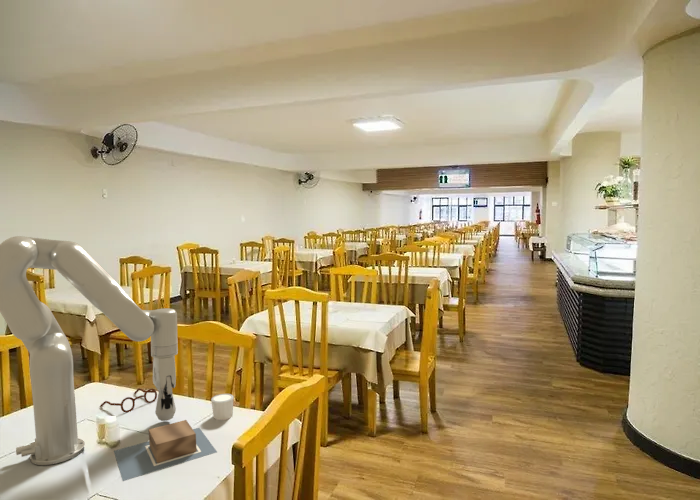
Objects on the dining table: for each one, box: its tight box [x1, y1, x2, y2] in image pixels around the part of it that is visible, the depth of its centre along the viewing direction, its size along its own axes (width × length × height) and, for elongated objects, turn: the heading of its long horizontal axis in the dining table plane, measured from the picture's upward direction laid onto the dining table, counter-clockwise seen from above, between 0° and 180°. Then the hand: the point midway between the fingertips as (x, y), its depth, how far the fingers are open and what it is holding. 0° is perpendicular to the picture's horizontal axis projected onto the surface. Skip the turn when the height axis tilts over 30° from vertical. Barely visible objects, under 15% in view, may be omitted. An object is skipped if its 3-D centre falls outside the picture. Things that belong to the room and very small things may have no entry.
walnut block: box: [148, 419, 197, 463], centre depth 126 cm, size 10×10×5 cm
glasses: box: [99, 387, 158, 413], centre depth 159 cm, size 13×13×5 cm
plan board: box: [113, 427, 218, 482], centre depth 125 cm, size 23×17×1 cm
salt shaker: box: [154, 387, 177, 422], centre depth 141 cm, size 6×6×13 cm
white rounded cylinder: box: [210, 393, 234, 421], centre depth 145 cm, size 7×7×7 cm
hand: (165, 407), depth 141 cm, fingers closed on salt shaker, 3 cm apart
